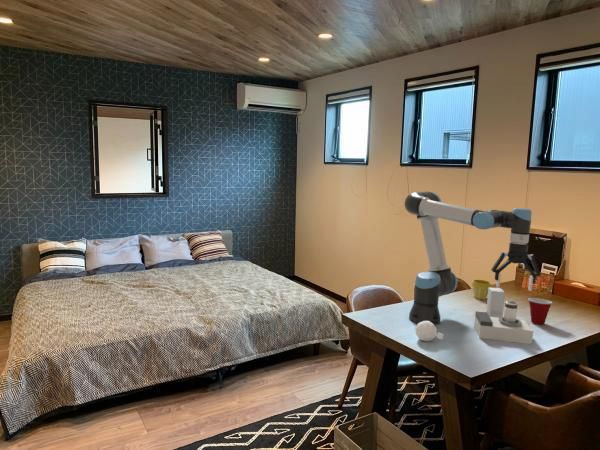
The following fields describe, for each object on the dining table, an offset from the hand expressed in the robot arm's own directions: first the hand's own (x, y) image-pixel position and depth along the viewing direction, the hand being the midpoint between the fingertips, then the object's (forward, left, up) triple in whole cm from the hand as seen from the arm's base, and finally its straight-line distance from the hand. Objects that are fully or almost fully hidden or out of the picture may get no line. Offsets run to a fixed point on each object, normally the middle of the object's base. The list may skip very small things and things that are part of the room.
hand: (513, 288), depth 204 cm
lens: (0, 0, -16) cm, 16 cm away
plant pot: (-2, +61, -23) cm, 65 cm away
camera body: (-3, 0, -22) cm, 23 cm away
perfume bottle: (-37, -18, -23) cm, 47 cm away
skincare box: (-2, +23, -23) cm, 32 cm away
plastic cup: (+19, +24, -23) cm, 38 cm away
